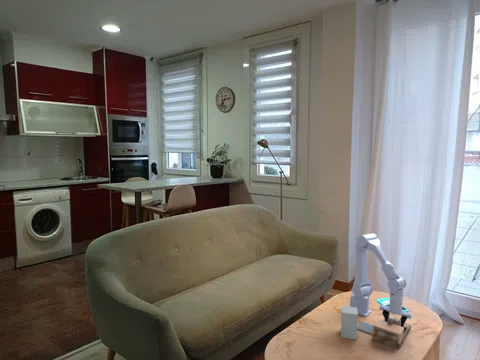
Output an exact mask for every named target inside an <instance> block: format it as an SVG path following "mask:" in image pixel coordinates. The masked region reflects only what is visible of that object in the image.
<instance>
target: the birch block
mask: <svg viewBox="0 0 480 360" xmlns="http://www.w3.org/2000/svg"><path fill="white" fill-rule="evenodd" d="M390 318H391V319H392V324H395V325H398V326H400V321H401V319H400V318H401V317H397V316H395V315H391V317H390Z"/></svg>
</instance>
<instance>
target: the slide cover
mask: <svg viewBox="0 0 480 360" xmlns="http://www.w3.org/2000/svg"><path fill="white" fill-rule="evenodd" d="M372 325H373V335H374V334H375V333H376V332H377V330H378V329H382V330H385V331H388V332H391V333H394V334H397V335H398V344H400V342H401V341H402V339H403V335H404V333H405V331H404V327H401V326H398V325H395V324H392V319H391V317H389V318H388V322H385V321H383V320H382V319H379V318H377V319H376V320H375V321H374V323H373V324H372Z"/></svg>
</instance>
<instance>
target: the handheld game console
mask: <svg viewBox="0 0 480 360" xmlns="http://www.w3.org/2000/svg"><path fill="white" fill-rule="evenodd" d="M376 302H377V303H379V304H380V305H384V306H389V303H390V297H385V298H384V297H383V298H379V299H377V301H376ZM402 310H404V311H406V312H408V313H410V312H409V309H407V308H406V307H405V306H403V305H402Z"/></svg>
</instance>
